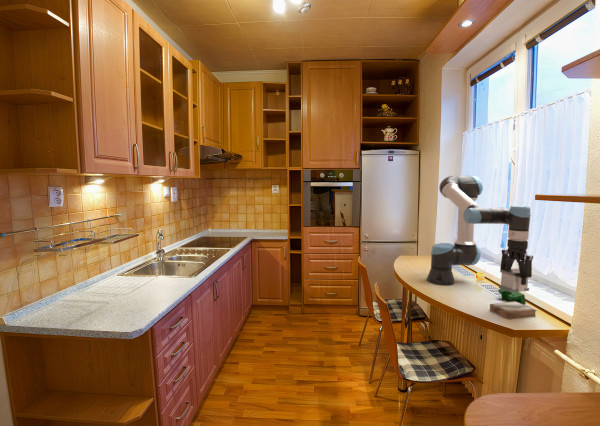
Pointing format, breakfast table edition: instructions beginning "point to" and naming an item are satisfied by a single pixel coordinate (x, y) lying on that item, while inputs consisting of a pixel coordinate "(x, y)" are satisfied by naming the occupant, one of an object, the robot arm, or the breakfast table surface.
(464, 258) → the robot arm
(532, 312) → the stand
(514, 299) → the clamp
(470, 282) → the breakfast table surface
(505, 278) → the block
